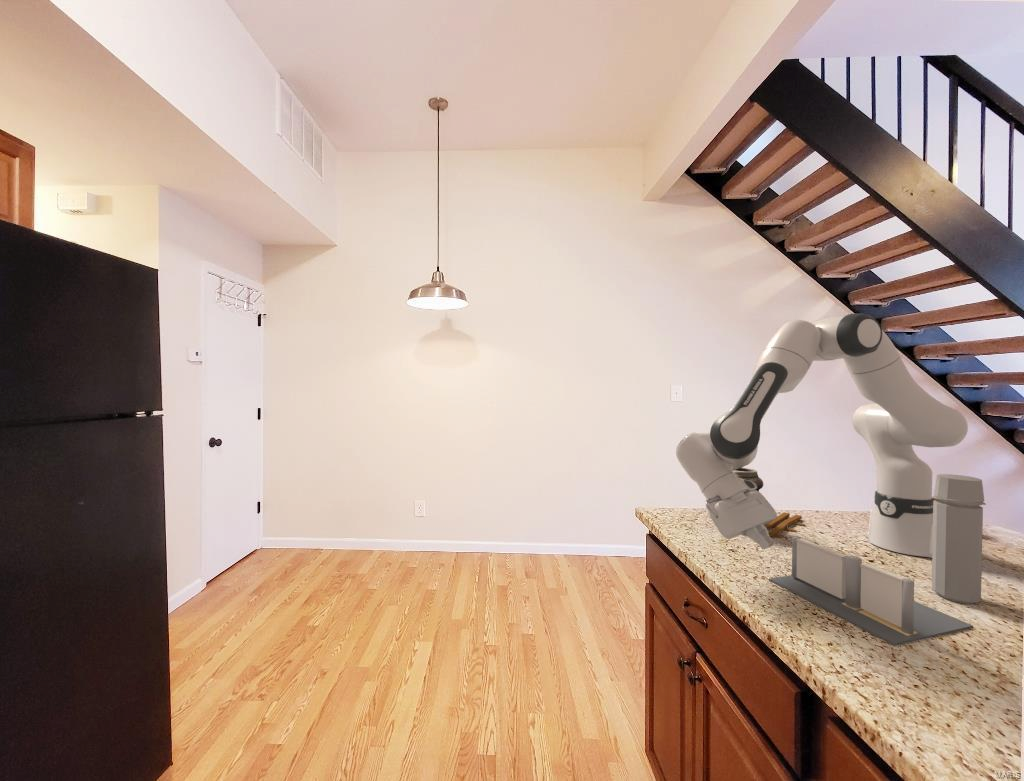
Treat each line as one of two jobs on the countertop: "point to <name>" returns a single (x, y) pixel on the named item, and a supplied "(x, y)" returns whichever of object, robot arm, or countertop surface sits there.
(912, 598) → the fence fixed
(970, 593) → the water bottle
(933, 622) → the mat
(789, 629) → the countertop surface
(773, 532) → the decorative fence
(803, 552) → the beige rectangular panel
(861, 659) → the countertop surface
